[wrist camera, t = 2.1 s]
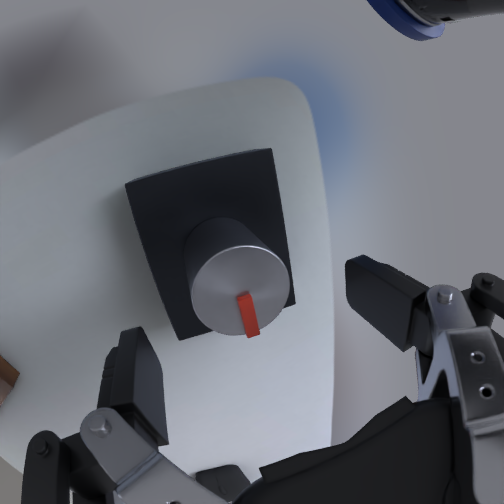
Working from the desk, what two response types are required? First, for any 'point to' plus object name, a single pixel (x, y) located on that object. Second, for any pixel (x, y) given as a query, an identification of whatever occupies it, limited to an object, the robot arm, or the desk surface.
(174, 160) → the desk surface
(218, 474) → the computer mouse
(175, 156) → the desk surface
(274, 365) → the desk surface
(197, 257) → the silver rotary knob
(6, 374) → the button block
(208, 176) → the knob base
